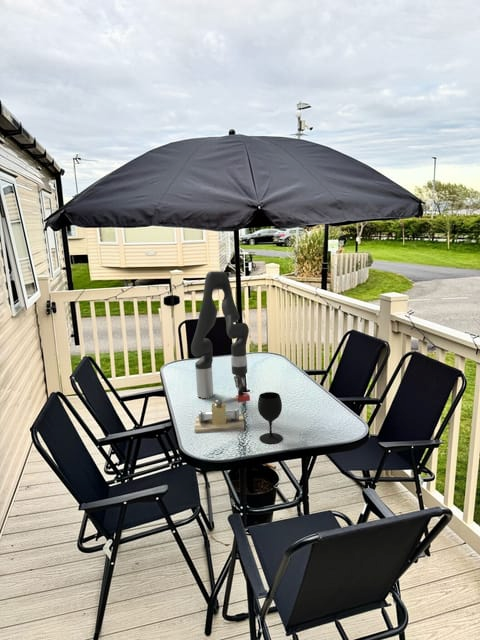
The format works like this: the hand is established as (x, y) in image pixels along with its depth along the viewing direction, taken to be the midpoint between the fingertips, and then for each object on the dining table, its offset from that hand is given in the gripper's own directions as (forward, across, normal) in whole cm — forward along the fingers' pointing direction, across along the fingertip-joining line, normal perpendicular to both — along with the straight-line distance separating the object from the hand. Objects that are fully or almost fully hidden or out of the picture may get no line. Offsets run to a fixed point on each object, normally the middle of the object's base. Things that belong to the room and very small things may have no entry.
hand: (240, 397), depth 210 cm
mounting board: (+10, -4, +12) cm, 17 cm away
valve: (+9, -4, +12) cm, 16 cm away
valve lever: (0, -3, +5) cm, 6 cm away
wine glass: (+10, -28, -4) cm, 30 cm away
